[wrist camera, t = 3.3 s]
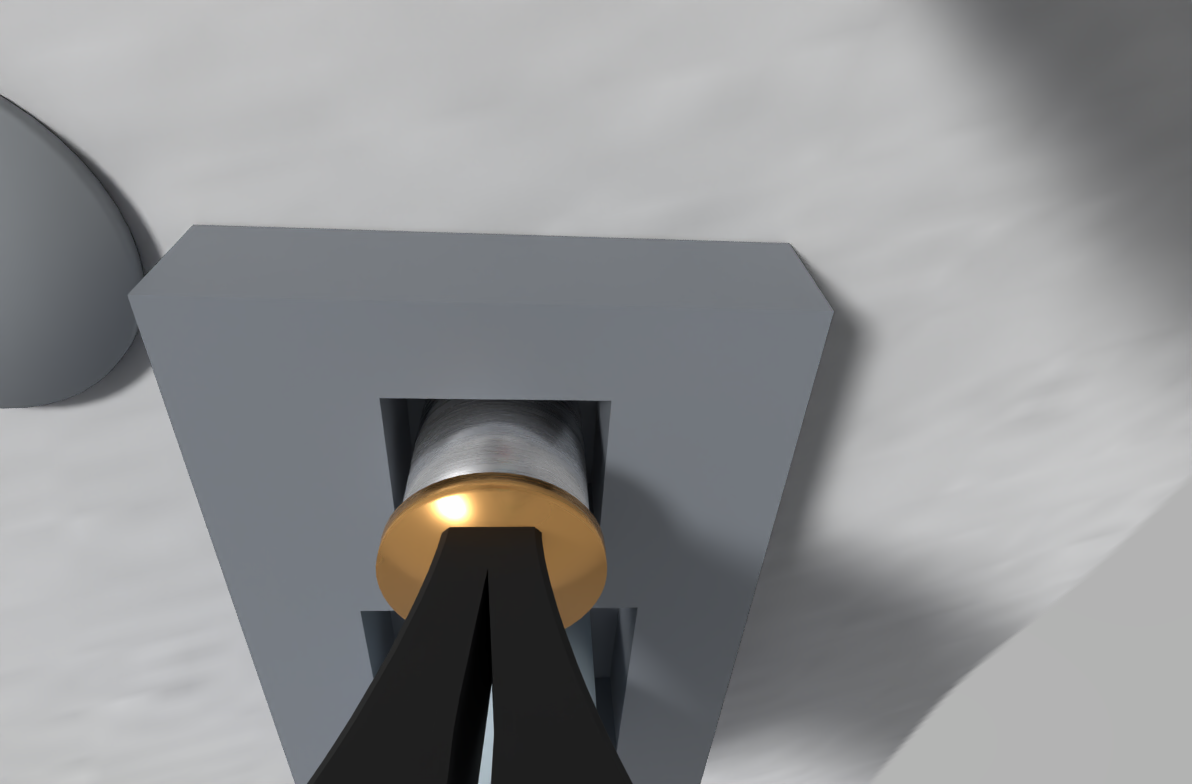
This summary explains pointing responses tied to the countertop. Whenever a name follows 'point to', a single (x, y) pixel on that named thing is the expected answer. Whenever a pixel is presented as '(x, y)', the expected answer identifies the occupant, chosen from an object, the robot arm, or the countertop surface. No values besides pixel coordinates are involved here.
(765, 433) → the grey flat block
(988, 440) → the countertop surface
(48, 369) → the pad
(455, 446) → the plunger
